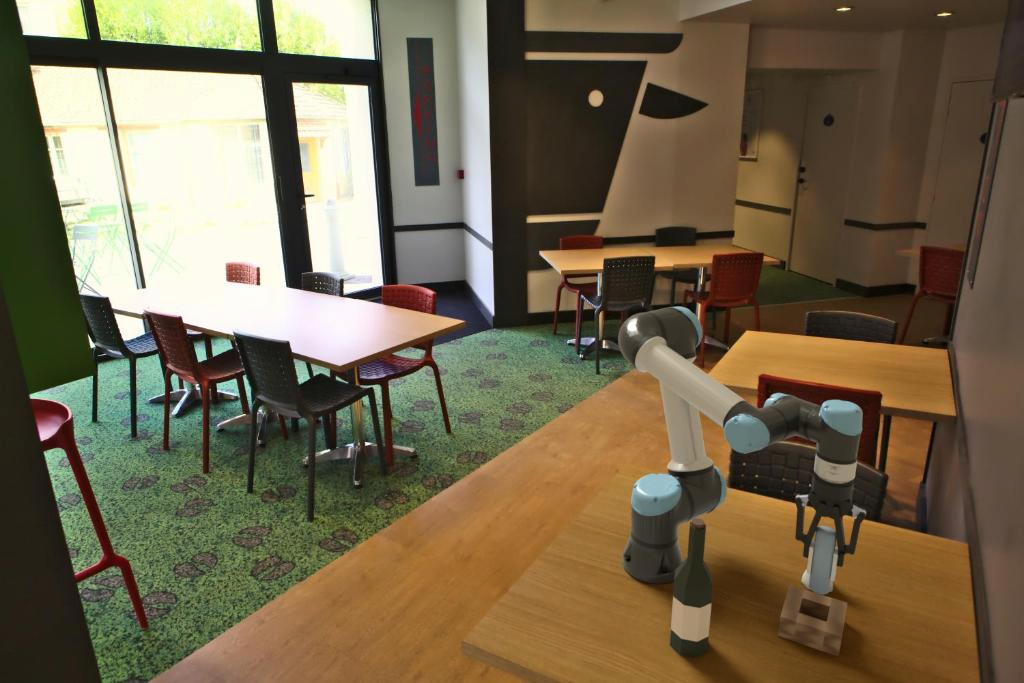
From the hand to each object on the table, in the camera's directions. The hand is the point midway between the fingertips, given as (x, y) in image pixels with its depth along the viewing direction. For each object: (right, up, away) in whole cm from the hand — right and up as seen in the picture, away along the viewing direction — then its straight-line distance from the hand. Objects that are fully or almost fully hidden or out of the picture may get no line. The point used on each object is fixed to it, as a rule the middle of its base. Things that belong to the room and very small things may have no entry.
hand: (820, 573), depth 138 cm
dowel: (0, -3, +1) cm, 4 cm away
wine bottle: (-28, -16, +1) cm, 32 cm away
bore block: (0, -14, +4) cm, 14 cm away
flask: (+8, -9, +19) cm, 23 cm away
